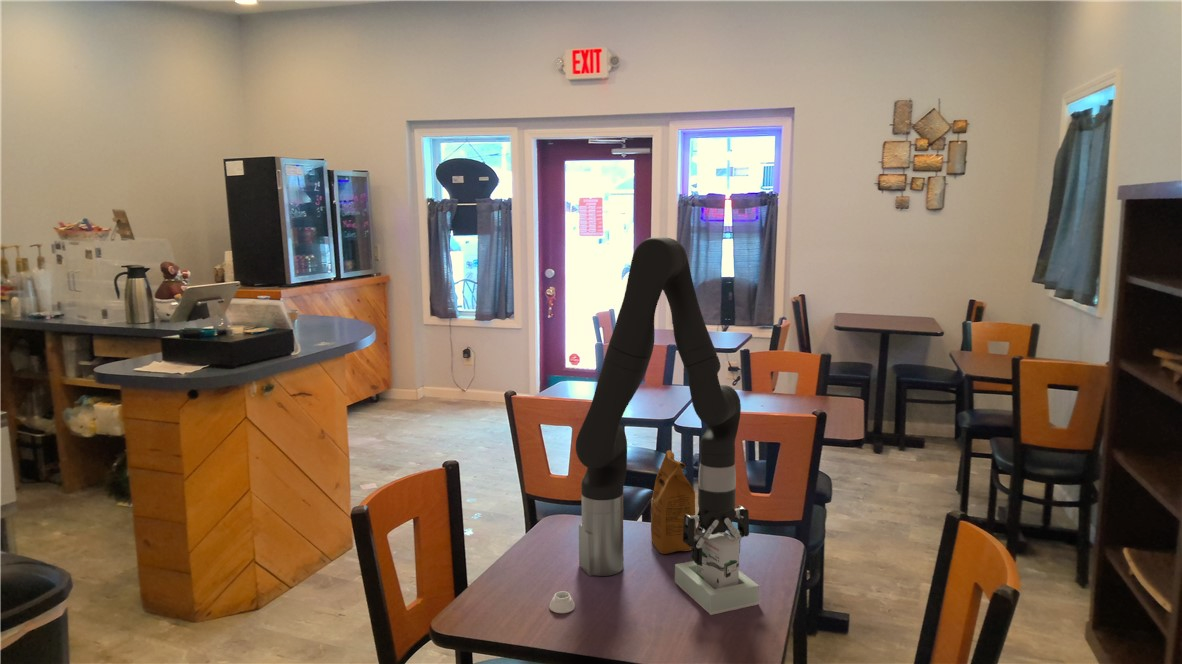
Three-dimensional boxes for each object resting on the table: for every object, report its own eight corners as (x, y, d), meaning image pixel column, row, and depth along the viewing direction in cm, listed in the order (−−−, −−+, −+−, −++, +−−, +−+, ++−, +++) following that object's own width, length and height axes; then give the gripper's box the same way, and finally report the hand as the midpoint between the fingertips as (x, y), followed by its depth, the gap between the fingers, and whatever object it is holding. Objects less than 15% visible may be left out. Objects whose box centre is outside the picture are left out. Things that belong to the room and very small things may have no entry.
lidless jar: (569, 600, 155) (546, 605, 153) (569, 587, 155) (546, 591, 153) (578, 612, 150) (554, 617, 149) (578, 598, 150) (554, 602, 148)
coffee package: (686, 533, 188) (687, 447, 185) (699, 554, 176) (700, 462, 173) (646, 535, 187) (647, 448, 184) (656, 556, 175) (657, 464, 172)
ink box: (694, 584, 160) (695, 530, 158) (713, 578, 162) (714, 525, 161) (720, 601, 152) (721, 545, 151) (740, 595, 155) (741, 540, 153)
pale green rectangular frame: (710, 614, 148) (711, 595, 148) (674, 582, 162) (674, 564, 162) (758, 604, 152) (759, 585, 152) (719, 573, 166) (719, 555, 166)
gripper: (737, 474, 160) (735, 547, 162) (677, 483, 155) (676, 558, 157) (757, 485, 153) (755, 561, 155) (695, 494, 148) (694, 573, 150)
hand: (715, 559), depth 156 cm, fingers open, 8 cm apart
